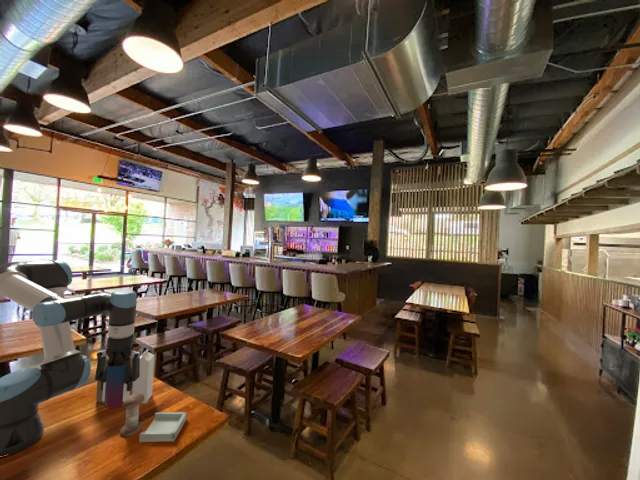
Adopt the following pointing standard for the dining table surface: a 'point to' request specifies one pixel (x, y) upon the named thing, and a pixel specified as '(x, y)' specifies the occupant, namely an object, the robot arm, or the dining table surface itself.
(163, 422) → the square tray
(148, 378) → the milk
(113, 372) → the cup
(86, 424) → the dining table surface
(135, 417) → the doorknob
